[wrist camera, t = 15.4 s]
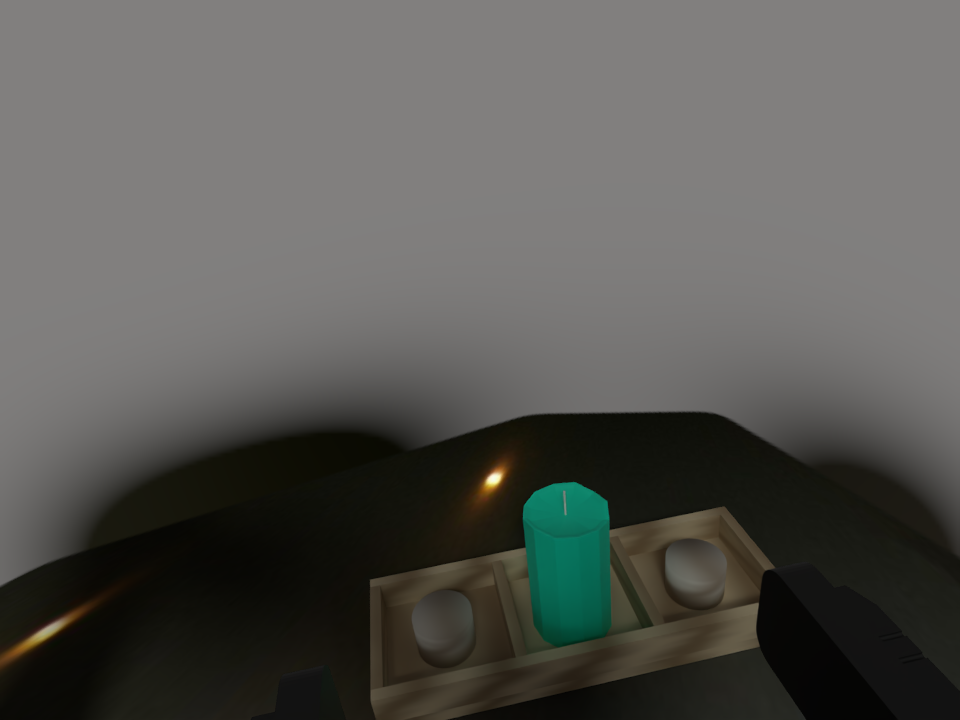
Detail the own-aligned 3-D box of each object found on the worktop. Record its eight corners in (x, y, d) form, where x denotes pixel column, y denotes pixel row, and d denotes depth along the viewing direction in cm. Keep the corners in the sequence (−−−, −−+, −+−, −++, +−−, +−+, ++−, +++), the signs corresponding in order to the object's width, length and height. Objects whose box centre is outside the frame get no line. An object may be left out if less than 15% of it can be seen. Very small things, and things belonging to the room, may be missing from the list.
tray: (380, 735, 41) (369, 696, 39) (378, 611, 50) (368, 575, 49) (798, 637, 44) (804, 597, 42) (721, 538, 53) (724, 501, 52)
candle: (574, 666, 43) (565, 535, 37) (516, 616, 47) (501, 492, 42) (628, 617, 46) (628, 489, 41) (569, 574, 50) (562, 454, 45)
